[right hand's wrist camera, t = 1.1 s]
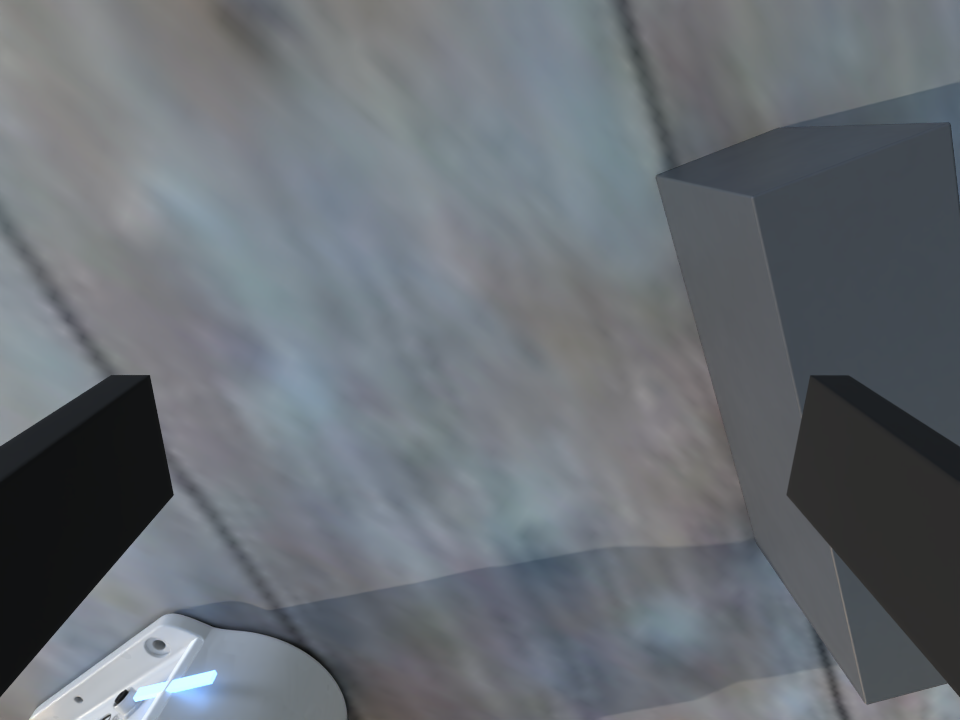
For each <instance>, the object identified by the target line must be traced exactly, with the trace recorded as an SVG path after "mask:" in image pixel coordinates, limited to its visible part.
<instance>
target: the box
mask: <svg viewBox="0 0 960 720" xmlns="http://www.w3.org/2000/svg"><path fill="white" fill-rule="evenodd" d="M656 180H657V184H658V188H659V191H660V195H661V198H662V202H663V206H664V209H665V213H666V217H667V220H668V224H669V228H670V231H671V235H672V238H673V242H674V246H675V249H676V253H677V257H678V260H679V264H680V268H681V271H682V275H683V278H684V282H685V286H686V289H687V293H688V297H689V300H690V304H691V308H692V311H693V315H694V318H695V322H696V326H697V329H698V333H699V337H700V340H701V344H702V347H703V351H704V355H705V358H706V362H707V366H708V369H709V373H710V377H711V380H712V384H713V387H714V391H715V395H716V398H717V402H718V406H719V409H720V413H721V417H722V420H723V424H724V427H725V431H726V435H727V438H728V442H729V446H730V449H731V453H732V457H733V460H734V464H735V467H736V471H737V475H738V478H739V482H740V486H741V489H742V493H743V497H744V500H745V504H746V507H747V511H748V515H749V518H750V522H751V526H752V529H753V533H754V536H755V540H756V544H757V545H758V547H759V548H760V550H761V551H762V553H763V554H764V556H765V557H766V558H767V560H768V561H769V563H770V564H771V566H772V567H773V569H774V570H775V572H776V573H777V575H778V576H779V578H780V579H781V581H782V582H783V584H784V585H785V586H786V588H787V589H788V591H789V592H790V594H791V595H792V597H793V598H794V600H795V601H796V603H797V604H798V606H799V607H800V609H801V610H802V611H803V613H804V614H805V616H806V617H807V619H808V620H809V622H810V623H811V625H812V626H813V628H814V629H815V631H816V632H817V634H818V635H819V636H820V638H821V639H822V641H823V642H824V644H825V645H826V647H827V648H828V650H829V651H830V653H831V654H832V656H833V657H834V659H835V660H836V661H837V663H838V664H839V666H840V667H841V669H842V670H843V672H844V673H845V675H846V676H847V678H848V679H849V681H850V682H851V684H852V685H853V687H854V688H855V689H856V691H857V692H858V694H859V695H860V697H861V698H862V700H863V701H864V703H865V704H871V703H875V702H879V701H883V700H887V699H890V698H894V697H898V696H902V695H905V694H909V693H913V692H917V691H921V690H924V689H928V688H932V687H936V686H939V685H943V684H947V682H946V680H945V679H944V678H943V677H942V676H941V675H940V673H939V672H938V671H937V670H936V669H935V668H934V666H933V665H932V664H931V663H930V662H929V661H928V659H927V658H926V657H925V656H924V655H923V654H922V652H921V651H920V650H919V649H918V648H917V647H916V645H915V644H914V643H913V642H912V641H911V640H910V638H909V637H908V636H907V635H906V634H905V633H904V631H903V630H902V629H901V628H900V627H899V626H898V624H897V623H896V622H895V621H894V620H893V619H892V618H891V616H890V615H889V614H888V613H887V612H886V611H885V609H884V608H883V607H882V606H881V605H880V604H879V602H878V601H877V600H876V599H875V598H874V597H873V595H872V594H871V593H870V592H869V591H868V590H867V588H866V587H865V586H864V585H863V584H862V583H861V581H860V580H859V579H858V578H857V577H856V576H855V574H854V573H853V572H852V571H851V570H850V569H849V567H848V566H847V565H846V564H845V563H844V562H843V560H842V559H841V558H840V557H839V556H838V555H837V553H836V552H835V551H834V550H833V549H832V548H831V546H830V545H829V544H828V543H827V542H826V541H825V540H824V538H823V537H822V536H821V535H820V534H819V533H818V531H817V530H816V529H815V528H814V527H813V526H812V524H811V523H810V522H809V521H808V520H807V519H806V517H805V516H804V515H803V514H802V513H801V512H800V510H799V509H798V508H797V507H796V506H795V505H794V503H793V502H792V501H791V500H790V499H789V498H788V496H787V495H786V494H787V489H788V484H789V479H790V474H791V469H792V464H793V459H794V454H795V449H796V444H797V439H798V434H799V429H800V424H801V419H802V414H803V409H804V404H805V399H806V394H807V389H808V384H809V379H810V375H849V376H851V377H852V378H854V379H855V380H857V381H859V382H860V383H862V384H863V385H865V386H866V387H868V388H869V389H871V390H873V391H874V392H876V393H877V394H879V395H880V396H882V397H883V398H885V399H887V400H888V401H890V402H891V403H893V404H894V405H896V406H897V407H899V408H901V409H902V410H904V411H905V412H907V413H908V414H910V415H911V416H913V417H915V418H916V419H918V420H919V421H921V422H922V423H924V424H925V425H927V426H929V427H930V428H932V429H933V430H935V431H936V432H938V433H939V434H941V435H943V436H944V437H946V438H947V439H949V440H950V441H952V442H954V443H955V444H957V445H958V446H960V204H959V195H958V186H957V177H956V168H955V160H954V151H953V142H952V133H951V125H950V123H916V124H885V125H853V126H822V127H790V128H777V129H774V130H772V131H769V132H767V133H764V134H761V135H759V136H756V137H754V138H751V139H749V140H746V141H743V142H741V143H738V144H736V145H733V146H731V147H728V148H725V149H723V150H720V151H718V152H715V153H712V154H710V155H707V156H705V157H702V158H700V159H697V160H694V161H692V162H689V163H687V164H684V165H682V166H679V167H676V168H674V169H671V170H669V171H666V172H663V173H661V174H658V175H657V176H656Z"/></svg>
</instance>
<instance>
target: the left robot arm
mask: <svg viewBox="0 0 960 720" xmlns="http://www.w3.org/2000/svg"><path fill="white" fill-rule="evenodd" d="M29 720H347V708H346V703H345V700H344V697H343V694H342V692H341V690H340V688H339V686H338V684H337V683H336V681H335V680H334V678H333V677H332V676H331V674H330V673H329V672H328V671H327V670H326V669H325V668H324V667H323V666H322V665H321V664H320V663H319V662H318V661H316V660H315V659H314V658H313V657H311V656H310V655H308V654H307V653H305V652H304V651H302V650H301V649H299V648H297V647H295V646H293V645H291V644H289V643H287V642H284V641H282V640H279V639H277V638H273V637H270V636H267V635H263V634H258V633H253V632H247V631H236V630H226V629H220V628H215V627H212V626H210V625H207V624H205V623H203V622H200V621H198V620H195V619H193V618H190V617H187V616H184V615H180V614H166V615H164V616H162V617H160V618H159V619H158V620H156V621H155V622H153V623H152V624H151V625H149V626H148V627H147V628H145V629H144V630H142V631H141V632H140V633H138V634H137V635H136V636H134V637H133V638H131V639H130V640H129V641H127V642H126V643H125V644H123V645H122V646H120V647H119V648H118V649H116V650H115V651H114V652H112V653H111V654H109V655H108V656H107V657H105V658H104V659H103V660H101V661H100V662H99V663H97V664H96V665H94V666H93V667H92V668H90V669H89V670H88V671H86V672H85V673H83V674H82V675H81V676H79V677H78V678H77V679H75V680H74V681H72V682H71V683H70V684H68V685H67V686H66V687H64V688H63V689H61V690H60V691H59V692H57V693H56V694H55V695H53V696H52V697H50V698H49V699H48V700H46V701H45V702H44V703H42V704H41V705H40V706H39V707H38V708H37V709H36V710H35V711H34V713H33V715H32V716H31V718H30V719H29Z"/></svg>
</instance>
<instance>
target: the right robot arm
mask: <svg viewBox="0 0 960 720" xmlns="http://www.w3.org/2000/svg"><path fill="white" fill-rule="evenodd" d="M173 495H174V494H173V489H172V484H171V479H170V474H169V469H168V464H167V459H166V454H165V449H164V444H163V439H162V434H161V429H160V424H159V419H158V414H157V409H156V404H155V399H154V394H153V389H152V384H151V379H150V375H111V376H109V377H108V378H106V379H105V380H103V381H101V382H100V383H98V384H97V385H95V386H94V387H92V388H91V389H89V390H87V391H86V392H84V393H83V394H81V395H80V396H78V397H77V398H75V399H73V400H72V401H70V402H69V403H67V404H66V405H64V406H63V407H61V408H59V409H58V410H56V411H55V412H53V413H52V414H50V415H49V416H47V417H45V418H44V419H42V420H41V421H39V422H38V423H36V424H35V425H33V426H31V427H30V428H28V429H27V430H25V431H24V432H22V433H21V434H19V435H17V436H16V437H14V438H13V439H11V440H10V441H8V442H6V443H5V444H3V445H2V446H0V697H1V695H2V694H3V693H4V692H5V691H6V690H7V689H8V687H9V686H10V685H11V684H12V683H13V682H14V680H15V679H16V678H17V677H18V676H19V675H20V673H21V672H22V671H23V670H24V669H25V668H26V666H27V665H28V664H29V663H30V662H31V661H32V659H33V658H34V657H35V656H36V655H37V654H38V652H39V651H40V650H41V649H42V648H43V647H44V645H45V644H46V643H47V642H48V641H49V640H50V638H51V637H52V636H53V635H54V634H55V633H56V631H57V630H58V629H59V628H60V627H61V626H62V624H63V623H64V622H65V621H66V620H67V619H68V618H69V616H70V615H71V614H72V613H73V612H74V611H75V609H76V608H77V607H78V606H79V605H80V604H81V602H82V601H83V600H84V599H85V598H86V597H87V595H88V594H89V593H90V592H91V591H92V590H93V588H94V587H95V586H96V585H97V584H98V583H99V581H100V580H101V579H102V578H103V577H104V576H105V574H106V573H107V572H108V571H109V570H110V569H111V567H112V566H113V565H114V564H115V563H116V562H117V560H118V559H119V558H120V557H121V556H122V555H123V553H124V552H125V551H126V550H127V549H128V548H129V546H130V545H131V544H132V543H133V542H134V541H135V540H136V538H137V537H138V536H139V535H140V534H141V533H142V531H143V530H144V529H145V528H146V527H147V526H148V524H149V523H150V522H151V521H152V520H153V519H154V517H155V516H156V515H157V514H158V513H159V512H160V510H161V509H162V508H163V507H164V506H165V505H166V503H167V502H168V501H169V500H170V499H171V498H172V496H173ZM786 495H787V496H788V498H789V499H790V500H791V501H792V502H793V503H794V505H795V506H796V507H797V508H798V509H799V510H800V512H801V513H802V514H803V515H804V516H805V517H806V519H807V520H808V521H809V522H810V523H811V524H812V526H813V527H814V528H815V529H816V530H817V531H818V533H819V534H820V535H821V536H822V537H823V538H824V540H825V541H826V542H827V543H828V544H829V545H830V546H831V548H832V549H833V550H834V551H835V552H836V553H837V555H838V556H839V557H840V558H841V559H842V560H843V562H844V563H845V564H846V565H847V566H848V567H849V569H850V570H851V571H852V572H853V573H854V574H855V576H856V577H857V578H858V579H859V580H860V581H861V583H862V584H863V585H864V586H865V587H866V588H867V590H868V591H869V592H870V593H871V594H872V595H873V597H874V598H875V599H876V600H877V601H878V602H879V604H880V605H881V606H882V607H883V608H884V609H885V611H886V612H887V613H888V614H889V615H890V616H891V618H892V619H893V620H894V621H895V622H896V623H897V624H898V626H899V627H900V628H901V629H902V630H903V631H904V633H905V634H906V635H907V636H908V637H909V638H910V640H911V641H912V642H913V643H914V644H915V645H916V647H917V648H918V649H919V650H920V651H921V652H922V654H923V655H924V656H925V657H926V658H927V659H928V661H929V662H930V663H931V664H932V665H933V666H934V668H935V669H936V670H937V671H938V672H939V673H940V675H941V676H942V677H943V678H944V679H945V680H946V682H947V683H948V684H949V685H950V686H951V687H952V689H953V690H954V691H955V692H956V693H957V694H958V695H959V697H960V446H958V445H957V444H955V443H954V442H952V441H950V440H949V439H947V438H946V437H944V436H943V435H941V434H939V433H938V432H936V431H935V430H933V429H932V428H930V427H929V426H927V425H925V424H924V423H922V422H921V421H919V420H918V419H916V418H915V417H913V416H911V415H910V414H908V413H907V412H905V411H904V410H902V409H901V408H899V407H897V406H896V405H894V404H893V403H891V402H890V401H888V400H887V399H885V398H883V397H882V396H880V395H879V394H877V393H876V392H874V391H873V390H871V389H869V388H868V387H866V386H865V385H863V384H862V383H860V382H859V381H857V380H855V379H854V378H852V377H851V376H849V375H810V379H809V384H808V389H807V394H806V399H805V404H804V409H803V414H802V419H801V424H800V429H799V434H798V439H797V444H796V449H795V454H794V459H793V464H792V469H791V474H790V479H789V484H788V489H787V494H786Z"/></svg>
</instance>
